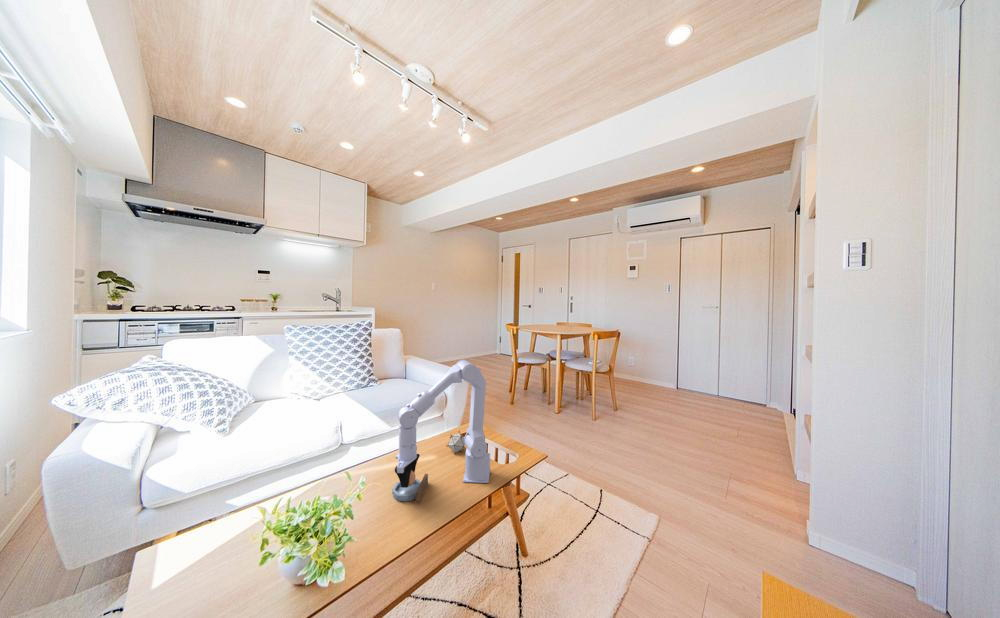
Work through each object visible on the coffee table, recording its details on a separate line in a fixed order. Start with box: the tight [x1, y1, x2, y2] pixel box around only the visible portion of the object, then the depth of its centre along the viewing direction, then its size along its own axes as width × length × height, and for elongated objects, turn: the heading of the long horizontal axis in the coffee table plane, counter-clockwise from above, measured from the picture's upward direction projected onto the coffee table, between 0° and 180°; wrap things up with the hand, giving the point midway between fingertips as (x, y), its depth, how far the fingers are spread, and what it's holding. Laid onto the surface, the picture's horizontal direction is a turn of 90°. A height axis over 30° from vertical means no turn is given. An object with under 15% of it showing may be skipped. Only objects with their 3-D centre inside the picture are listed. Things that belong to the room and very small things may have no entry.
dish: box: [391, 478, 421, 503], centre depth 105 cm, size 9×9×2 cm
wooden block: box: [415, 473, 429, 505], centre depth 105 cm, size 1×11×4 cm, turn 178°
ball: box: [408, 471, 417, 487], centre depth 105 cm, size 5×5×5 cm
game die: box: [445, 430, 466, 455], centre depth 133 cm, size 9×8×10 cm
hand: (407, 481), depth 105 cm, fingers closed on ball, 5 cm apart
